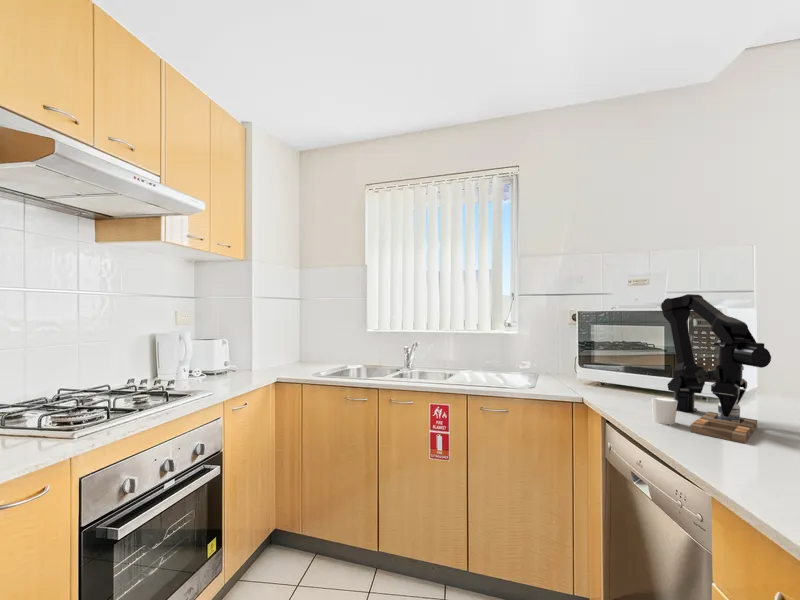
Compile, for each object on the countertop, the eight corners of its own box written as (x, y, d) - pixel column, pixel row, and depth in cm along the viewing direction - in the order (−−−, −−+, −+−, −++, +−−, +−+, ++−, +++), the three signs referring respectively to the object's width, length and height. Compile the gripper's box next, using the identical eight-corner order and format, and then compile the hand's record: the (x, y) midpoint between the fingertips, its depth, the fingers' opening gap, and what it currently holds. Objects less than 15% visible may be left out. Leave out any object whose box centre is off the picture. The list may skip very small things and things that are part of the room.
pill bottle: (718, 422, 130) (718, 393, 130) (739, 425, 127) (740, 396, 127) (717, 425, 126) (718, 396, 126) (739, 429, 123) (740, 399, 123)
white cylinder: (651, 422, 127) (652, 399, 127) (650, 417, 133) (650, 395, 133) (678, 426, 124) (679, 402, 124) (675, 421, 130) (676, 398, 130)
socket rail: (708, 417, 135) (708, 410, 135) (757, 426, 126) (757, 419, 126) (690, 431, 119) (690, 423, 119) (744, 443, 110) (745, 434, 110)
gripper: (704, 357, 139) (703, 404, 139) (691, 361, 126) (689, 413, 126) (748, 361, 131) (746, 411, 131) (738, 366, 118) (736, 421, 118)
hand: (728, 413), depth 127 cm, fingers open, 9 cm apart
